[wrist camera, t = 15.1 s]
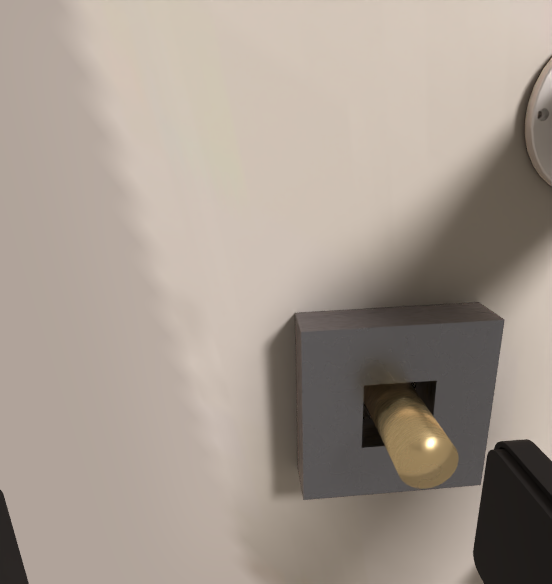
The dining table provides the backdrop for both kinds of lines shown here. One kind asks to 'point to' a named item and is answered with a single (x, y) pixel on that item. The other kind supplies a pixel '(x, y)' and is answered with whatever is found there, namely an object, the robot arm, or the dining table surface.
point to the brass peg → (411, 435)
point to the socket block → (387, 370)
